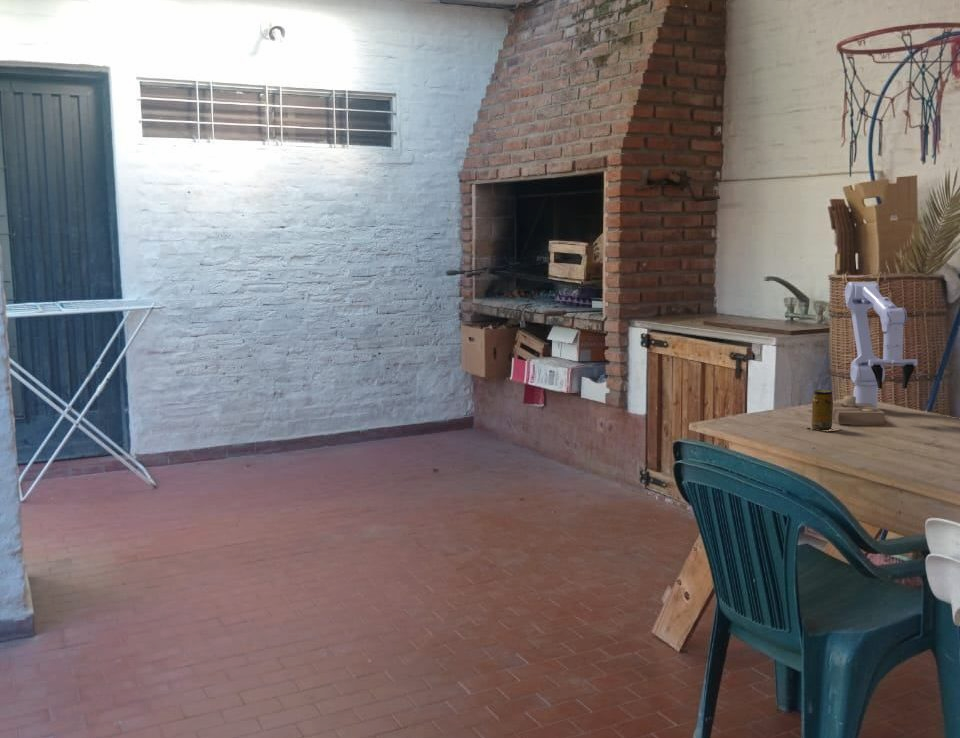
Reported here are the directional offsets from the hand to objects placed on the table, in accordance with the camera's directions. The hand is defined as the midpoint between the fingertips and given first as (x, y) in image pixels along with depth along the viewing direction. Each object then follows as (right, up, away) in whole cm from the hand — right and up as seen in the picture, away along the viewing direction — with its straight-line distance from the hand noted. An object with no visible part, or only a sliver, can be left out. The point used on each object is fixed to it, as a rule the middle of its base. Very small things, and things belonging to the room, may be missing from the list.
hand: (892, 388), depth 319 cm
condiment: (-25, -13, -9) cm, 30 cm away
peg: (-11, -7, +7) cm, 15 cm away
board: (-11, -10, +4) cm, 15 cm away
